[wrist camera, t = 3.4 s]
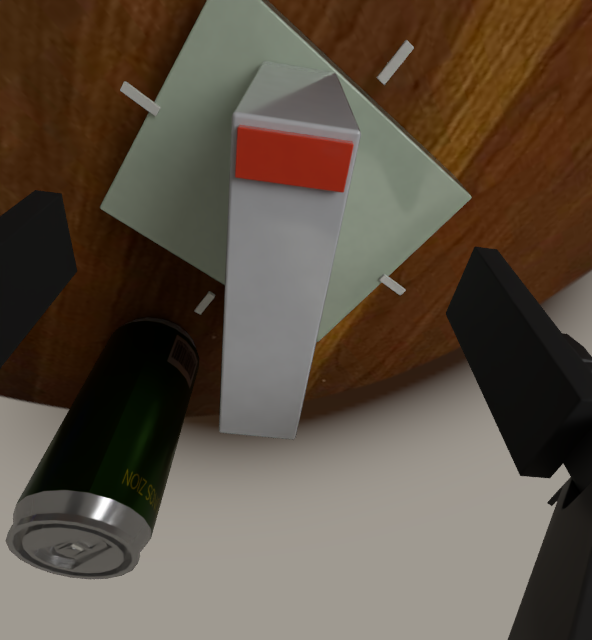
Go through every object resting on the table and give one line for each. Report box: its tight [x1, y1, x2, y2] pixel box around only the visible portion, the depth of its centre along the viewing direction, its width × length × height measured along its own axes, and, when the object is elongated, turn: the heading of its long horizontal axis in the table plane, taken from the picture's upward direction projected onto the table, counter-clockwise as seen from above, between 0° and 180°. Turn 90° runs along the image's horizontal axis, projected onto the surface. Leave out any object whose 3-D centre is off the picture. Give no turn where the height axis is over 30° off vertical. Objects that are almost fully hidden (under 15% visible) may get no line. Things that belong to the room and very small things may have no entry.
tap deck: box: [100, 0, 471, 342], centre depth 19 cm, size 14×14×3 cm
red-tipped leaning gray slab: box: [219, 61, 361, 440], centre depth 14 cm, size 10×3×8 cm, turn 172°
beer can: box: [6, 317, 199, 579], centre depth 21 cm, size 5×5×12 cm
